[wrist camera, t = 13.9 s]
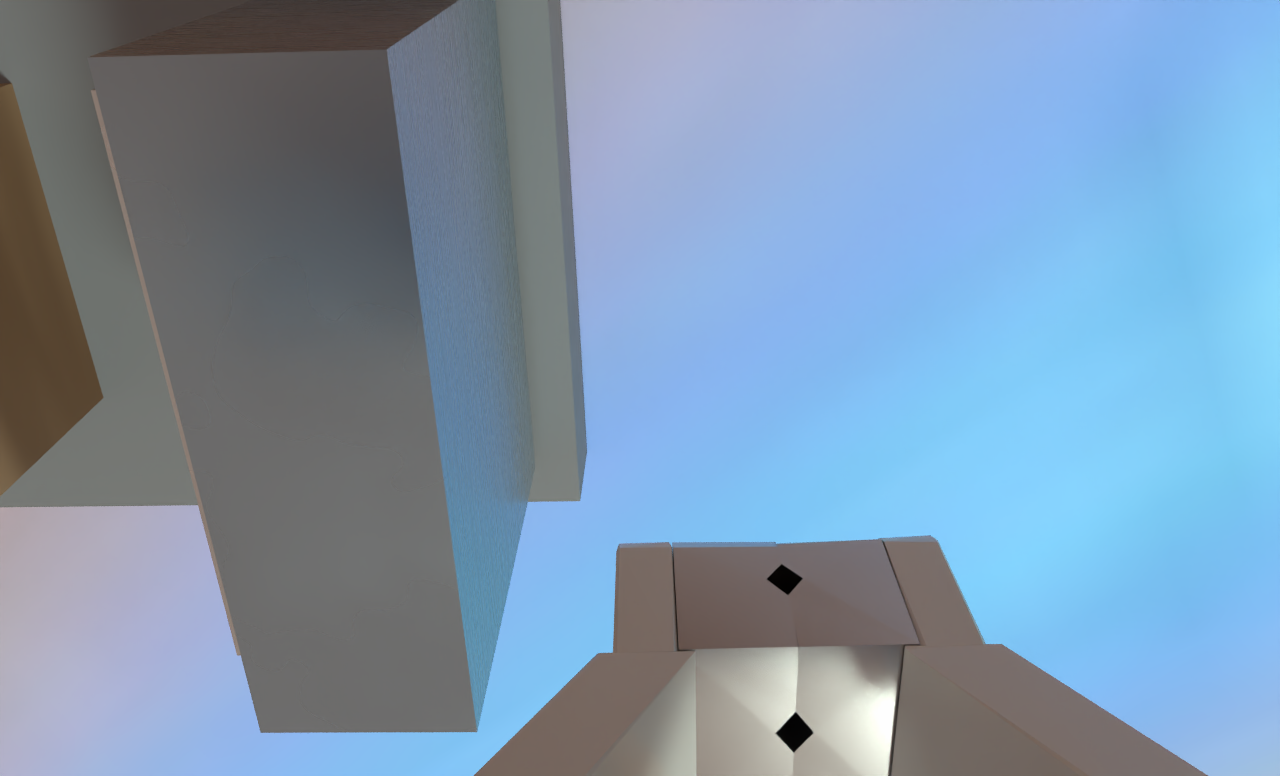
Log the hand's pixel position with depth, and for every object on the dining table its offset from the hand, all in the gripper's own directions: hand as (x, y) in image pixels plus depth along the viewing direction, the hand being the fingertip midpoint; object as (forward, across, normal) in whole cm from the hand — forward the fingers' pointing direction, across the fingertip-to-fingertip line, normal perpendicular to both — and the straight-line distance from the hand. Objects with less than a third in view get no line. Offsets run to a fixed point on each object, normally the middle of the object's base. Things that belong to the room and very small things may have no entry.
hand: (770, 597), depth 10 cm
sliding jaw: (+10, +5, 0) cm, 11 cm away
